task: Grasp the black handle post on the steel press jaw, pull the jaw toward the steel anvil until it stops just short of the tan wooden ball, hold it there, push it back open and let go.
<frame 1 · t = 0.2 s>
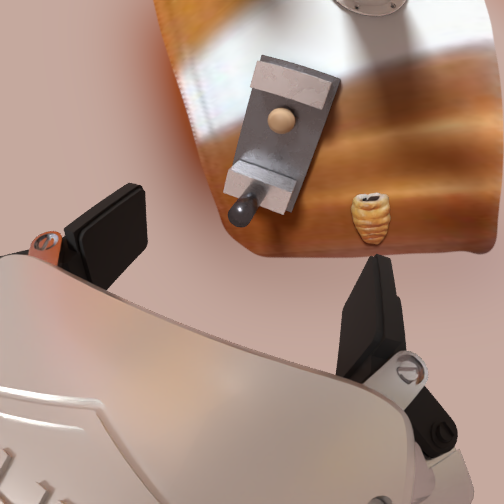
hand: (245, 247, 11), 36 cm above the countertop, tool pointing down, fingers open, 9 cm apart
tan wooden ball: (281, 120, 38), point 3 cm above the countertop, touching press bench
pastry: (371, 212, 46), on the countertop
press jaw: (253, 196, 41), point 8 cm above the countertop, slide at 0.0 cm
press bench: (280, 134, 43), on the countertop
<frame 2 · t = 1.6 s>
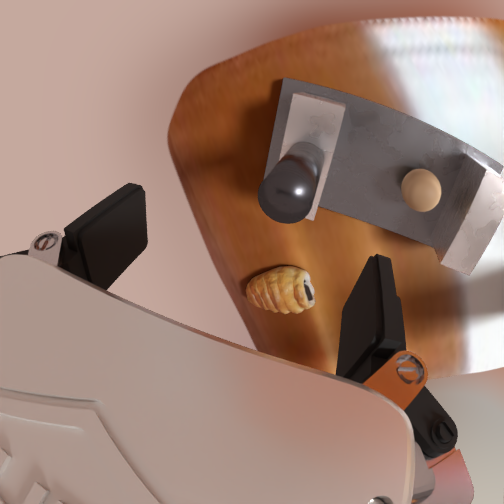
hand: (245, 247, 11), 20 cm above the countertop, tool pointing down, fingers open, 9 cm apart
tan wooden ball: (421, 190, 22), point 3 cm above the countertop, touching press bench
pastry: (285, 284, 38), on the countertop
press jaw: (302, 165, 20), point 8 cm above the countertop, slide at 0.0 cm
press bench: (388, 167, 25), on the countertop
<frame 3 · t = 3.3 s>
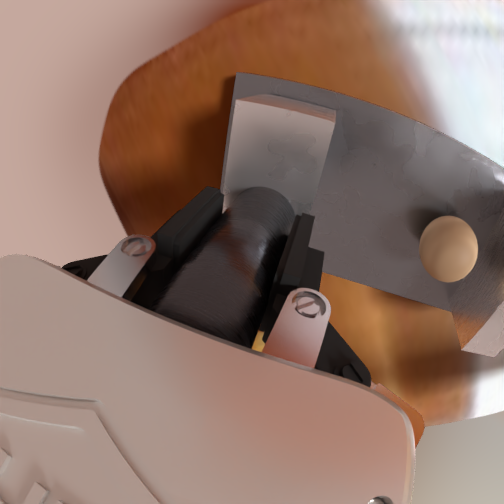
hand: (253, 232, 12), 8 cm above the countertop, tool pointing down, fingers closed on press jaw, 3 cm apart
tan wooden ball: (448, 249, 14), point 3 cm above the countertop, touching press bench
press jaw: (253, 233, 12), point 8 cm above the countertop, slide at 0.0 cm, touching gripper
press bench: (399, 207, 17), on the countertop
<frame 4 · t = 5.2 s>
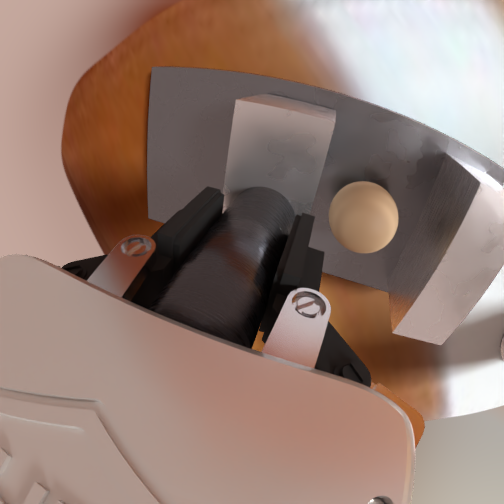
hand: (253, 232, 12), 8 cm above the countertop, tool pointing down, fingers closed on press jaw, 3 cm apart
tan wooden ball: (363, 217, 15), point 3 cm above the countertop, touching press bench
press jaw: (253, 233, 12), point 8 cm above the countertop, slide at 6.0 cm, touching gripper
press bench: (317, 179, 18), on the countertop
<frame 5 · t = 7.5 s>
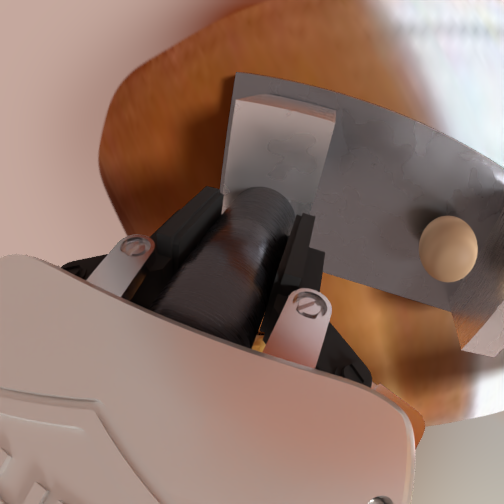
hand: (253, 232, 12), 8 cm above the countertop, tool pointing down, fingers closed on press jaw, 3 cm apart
tan wooden ball: (448, 248, 14), point 3 cm above the countertop, touching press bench
press jaw: (253, 233, 12), point 8 cm above the countertop, slide at 0.0 cm, touching gripper
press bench: (399, 207, 17), on the countertop
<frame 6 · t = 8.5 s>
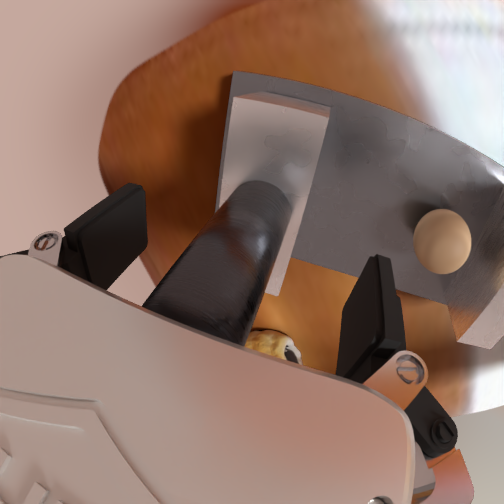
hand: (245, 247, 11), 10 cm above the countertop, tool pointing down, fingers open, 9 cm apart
tan wooden ball: (442, 241, 15), point 3 cm above the countertop, touching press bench
pastry: (266, 346, 31), on the countertop
press jaw: (250, 225, 12), point 8 cm above the countertop, slide at 0.0 cm
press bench: (394, 201, 18), on the countertop
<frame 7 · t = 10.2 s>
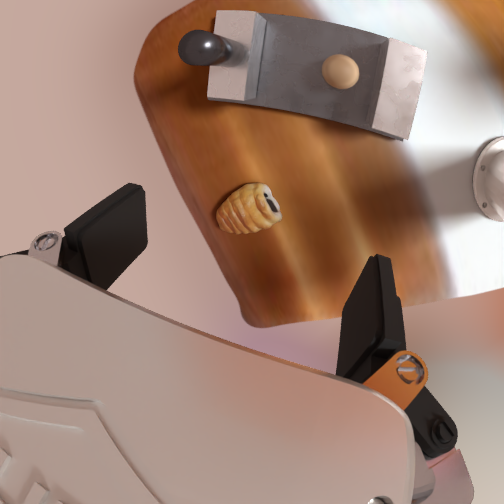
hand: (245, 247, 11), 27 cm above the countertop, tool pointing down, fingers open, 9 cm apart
tan wooden ball: (340, 71, 24), point 3 cm above the countertop, touching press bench
pastry: (252, 206, 41), on the countertop
press jaw: (225, 52, 22), point 8 cm above the countertop, slide at 0.0 cm
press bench: (314, 67, 27), on the countertop
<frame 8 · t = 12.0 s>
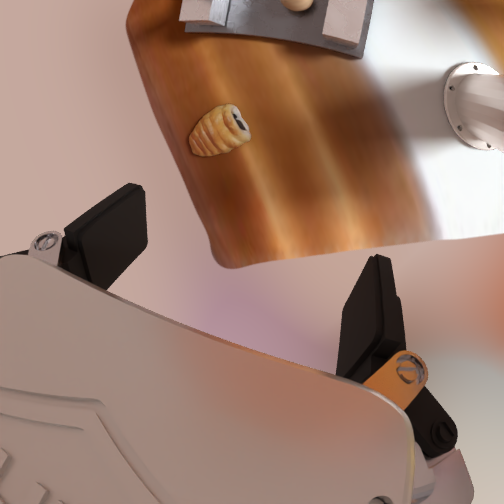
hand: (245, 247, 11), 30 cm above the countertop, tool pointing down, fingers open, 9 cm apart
pastry: (224, 130, 39), on the countertop
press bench: (277, 1, 26), on the countertop
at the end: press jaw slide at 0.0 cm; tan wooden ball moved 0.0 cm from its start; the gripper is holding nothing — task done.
